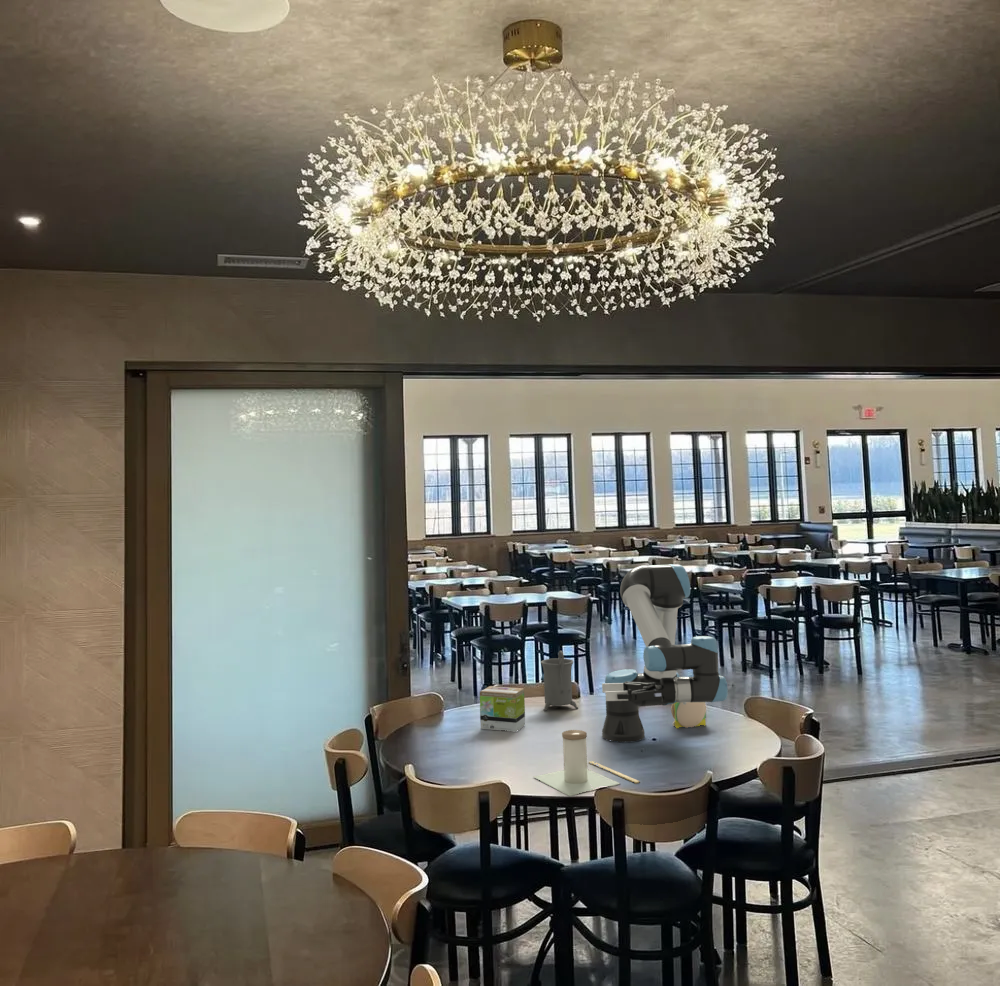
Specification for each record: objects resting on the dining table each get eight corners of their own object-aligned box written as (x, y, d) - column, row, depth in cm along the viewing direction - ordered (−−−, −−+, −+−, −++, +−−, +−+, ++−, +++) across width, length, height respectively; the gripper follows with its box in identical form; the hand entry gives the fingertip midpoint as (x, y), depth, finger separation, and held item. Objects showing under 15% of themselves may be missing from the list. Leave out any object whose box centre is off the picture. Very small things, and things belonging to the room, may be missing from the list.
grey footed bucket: (537, 704, 341) (534, 646, 342) (570, 702, 344) (568, 643, 344) (547, 715, 323) (544, 653, 323) (582, 712, 325) (580, 650, 326)
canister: (559, 778, 242) (557, 732, 243) (579, 774, 246) (577, 728, 246) (572, 785, 236) (570, 737, 236) (593, 780, 239) (591, 733, 240)
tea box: (479, 730, 303) (478, 690, 304) (490, 723, 313) (488, 685, 313) (516, 732, 298) (515, 692, 298) (526, 725, 307) (524, 687, 308)
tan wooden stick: (588, 763, 258) (588, 761, 258) (592, 762, 258) (592, 761, 259) (635, 783, 237) (635, 782, 237) (639, 782, 237) (639, 781, 238)
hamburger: (697, 721, 305) (696, 689, 305) (708, 726, 297) (707, 694, 297) (669, 724, 302) (667, 692, 302) (678, 729, 294) (677, 697, 294)
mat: (533, 777, 245) (533, 776, 245) (581, 767, 254) (581, 766, 254) (569, 796, 228) (569, 795, 228) (620, 784, 236) (620, 783, 236)
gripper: (682, 711, 229) (607, 713, 230) (668, 695, 254) (601, 696, 255) (680, 684, 229) (606, 686, 230) (667, 671, 254) (600, 673, 255)
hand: (603, 692), depth 243 cm, fingers open, 13 cm apart
